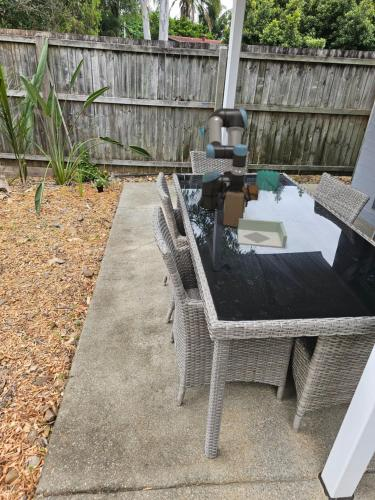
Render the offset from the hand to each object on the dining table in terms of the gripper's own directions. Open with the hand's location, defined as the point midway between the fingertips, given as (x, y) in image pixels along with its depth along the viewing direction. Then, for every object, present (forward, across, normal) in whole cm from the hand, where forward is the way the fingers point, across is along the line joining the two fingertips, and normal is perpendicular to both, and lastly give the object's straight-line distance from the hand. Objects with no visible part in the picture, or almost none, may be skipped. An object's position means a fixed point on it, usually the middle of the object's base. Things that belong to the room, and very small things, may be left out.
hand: (234, 211), depth 191 cm
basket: (+8, +27, +86) cm, 91 cm away
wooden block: (+8, 0, 0) cm, 8 cm away
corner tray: (+8, +15, -18) cm, 25 cm away
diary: (+9, +9, +62) cm, 63 cm away
